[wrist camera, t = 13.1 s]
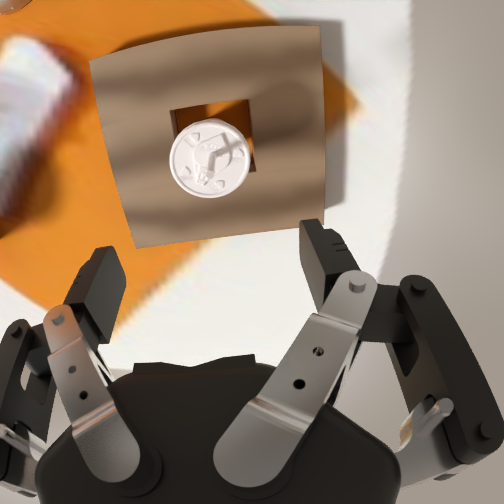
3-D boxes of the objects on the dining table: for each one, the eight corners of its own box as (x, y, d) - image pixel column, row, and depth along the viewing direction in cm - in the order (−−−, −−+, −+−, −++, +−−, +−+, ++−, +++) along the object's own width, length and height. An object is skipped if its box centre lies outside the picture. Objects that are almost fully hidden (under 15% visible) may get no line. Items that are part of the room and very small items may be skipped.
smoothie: (253, 119, 30) (274, 157, 18) (229, 170, 33) (233, 237, 21) (196, 96, 28) (177, 119, 16) (174, 151, 31) (146, 208, 20)
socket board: (100, 60, 24) (89, 60, 21) (310, 29, 24) (319, 26, 22) (141, 235, 36) (136, 248, 34) (316, 212, 37) (323, 224, 34)
